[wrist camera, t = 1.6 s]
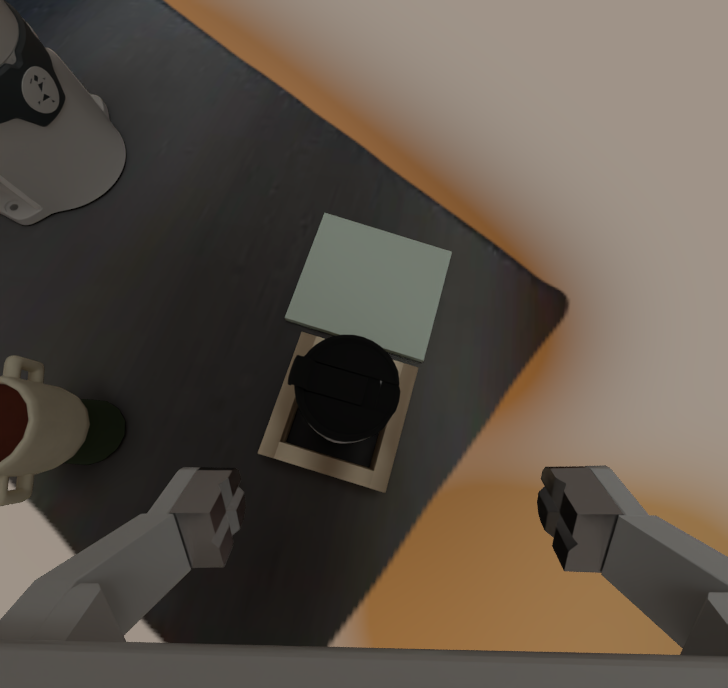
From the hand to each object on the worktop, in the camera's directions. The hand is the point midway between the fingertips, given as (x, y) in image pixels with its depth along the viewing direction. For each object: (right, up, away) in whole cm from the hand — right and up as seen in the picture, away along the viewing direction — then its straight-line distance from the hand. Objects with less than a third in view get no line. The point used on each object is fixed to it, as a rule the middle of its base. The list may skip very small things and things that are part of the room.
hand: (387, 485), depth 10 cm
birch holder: (-3, -4, +30) cm, 30 cm away
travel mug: (-3, -4, +30) cm, 30 cm away
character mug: (-28, -5, +28) cm, 40 cm away
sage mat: (0, +11, +34) cm, 36 cm away
